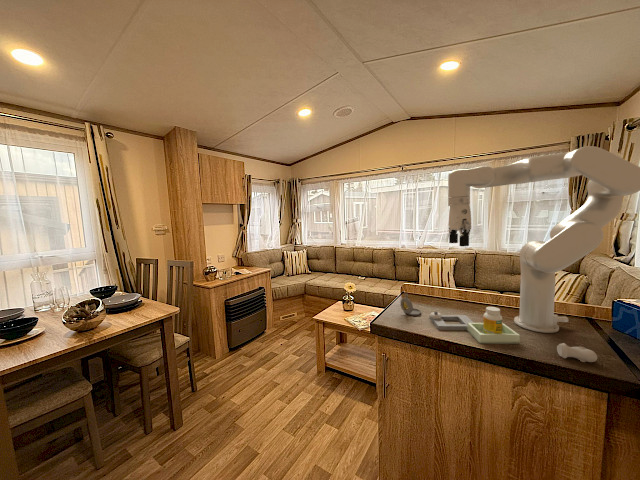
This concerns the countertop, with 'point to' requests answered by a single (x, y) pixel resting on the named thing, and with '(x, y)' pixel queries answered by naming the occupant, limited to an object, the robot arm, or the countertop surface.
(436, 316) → the plate
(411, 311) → the pocket watch
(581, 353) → the smooth white sculpture
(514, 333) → the tray
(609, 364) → the countertop surface
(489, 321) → the supplement bottle
